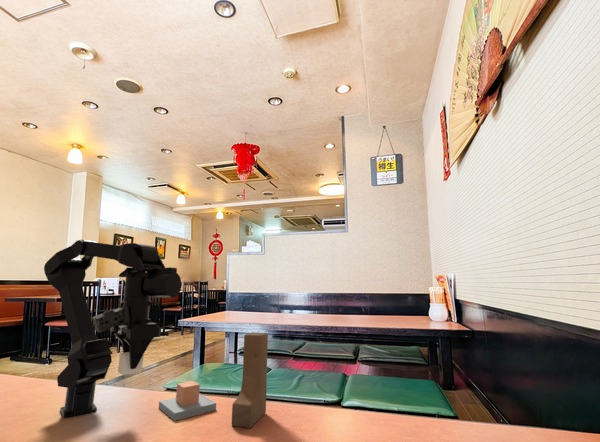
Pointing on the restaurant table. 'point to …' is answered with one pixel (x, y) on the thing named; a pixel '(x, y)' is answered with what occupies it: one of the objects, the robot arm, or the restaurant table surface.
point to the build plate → (186, 408)
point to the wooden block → (252, 382)
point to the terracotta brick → (187, 393)
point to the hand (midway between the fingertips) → (130, 366)
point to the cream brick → (128, 365)
